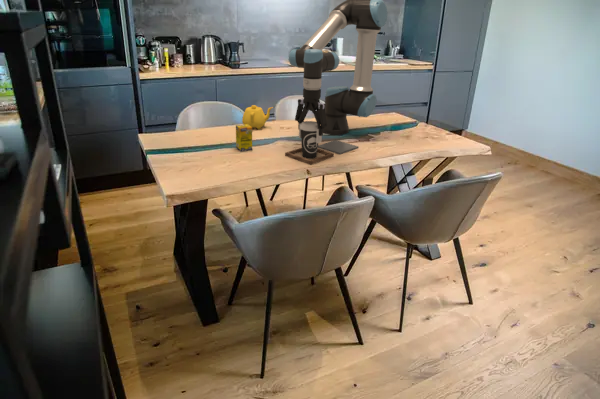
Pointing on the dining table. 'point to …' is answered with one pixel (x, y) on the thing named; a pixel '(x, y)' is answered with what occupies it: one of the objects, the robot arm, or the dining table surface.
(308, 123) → the coffee cup
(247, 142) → the supplement box
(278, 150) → the dining table surface
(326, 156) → the frame
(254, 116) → the teapot
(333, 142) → the coaster
